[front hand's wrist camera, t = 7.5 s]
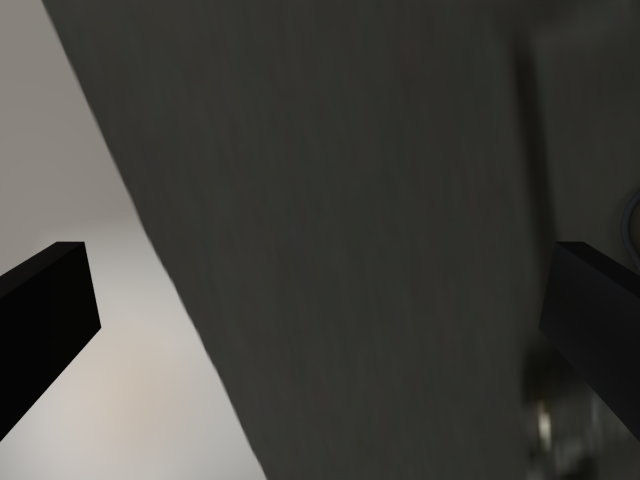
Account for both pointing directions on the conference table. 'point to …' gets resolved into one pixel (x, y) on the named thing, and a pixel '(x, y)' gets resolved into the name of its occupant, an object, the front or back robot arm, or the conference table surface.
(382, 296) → the conference table surface
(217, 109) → the conference table surface
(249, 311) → the conference table surface
